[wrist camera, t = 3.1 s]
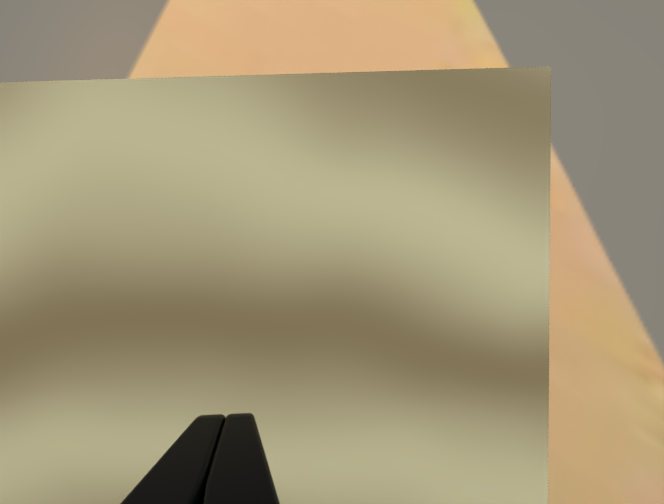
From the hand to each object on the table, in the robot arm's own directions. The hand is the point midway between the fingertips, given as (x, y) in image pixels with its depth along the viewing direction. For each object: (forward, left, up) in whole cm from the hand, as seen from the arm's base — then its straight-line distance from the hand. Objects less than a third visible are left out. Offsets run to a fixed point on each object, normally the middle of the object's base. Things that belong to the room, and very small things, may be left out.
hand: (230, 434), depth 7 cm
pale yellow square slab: (+2, 0, -5) cm, 6 cm away
